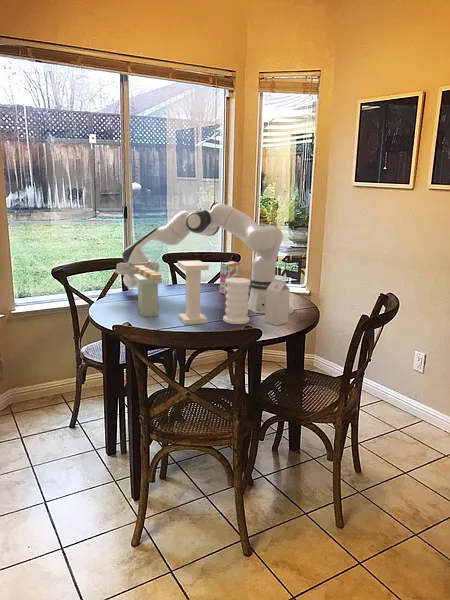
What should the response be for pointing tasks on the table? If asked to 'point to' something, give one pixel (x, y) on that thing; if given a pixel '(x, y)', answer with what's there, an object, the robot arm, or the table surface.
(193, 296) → the shelf stand
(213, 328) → the table surface
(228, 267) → the candy bar box
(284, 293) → the milk carton
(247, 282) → the decorative container
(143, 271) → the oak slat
